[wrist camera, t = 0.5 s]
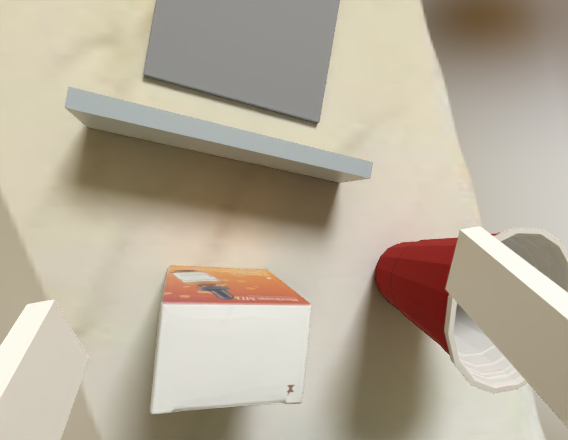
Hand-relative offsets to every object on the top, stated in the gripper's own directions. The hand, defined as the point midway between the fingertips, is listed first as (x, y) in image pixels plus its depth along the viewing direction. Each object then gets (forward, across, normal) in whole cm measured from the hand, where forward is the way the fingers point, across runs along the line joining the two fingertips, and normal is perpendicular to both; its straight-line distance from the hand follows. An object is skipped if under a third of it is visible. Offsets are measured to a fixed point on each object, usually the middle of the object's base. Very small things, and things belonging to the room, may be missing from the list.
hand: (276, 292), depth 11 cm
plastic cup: (+14, -13, +14) cm, 24 cm away
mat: (+23, -3, -8) cm, 25 cm away
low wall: (+18, +1, +1) cm, 18 cm away
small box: (+12, +4, +11) cm, 17 cm away
